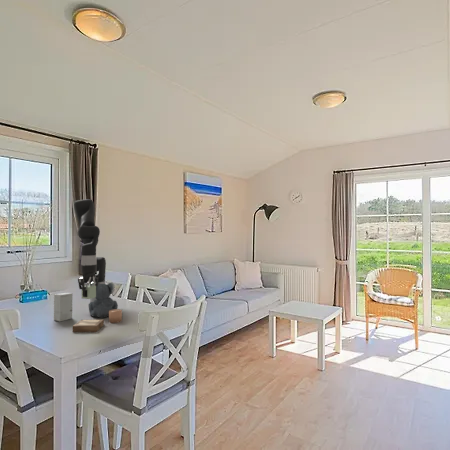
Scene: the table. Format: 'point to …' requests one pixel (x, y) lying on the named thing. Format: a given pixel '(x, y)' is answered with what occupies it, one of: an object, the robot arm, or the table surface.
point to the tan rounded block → (115, 315)
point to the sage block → (90, 292)
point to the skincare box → (62, 306)
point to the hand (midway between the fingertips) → (88, 295)
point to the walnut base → (88, 325)
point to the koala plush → (103, 301)
